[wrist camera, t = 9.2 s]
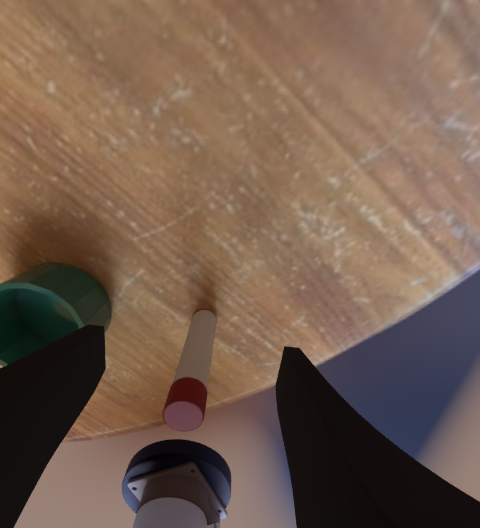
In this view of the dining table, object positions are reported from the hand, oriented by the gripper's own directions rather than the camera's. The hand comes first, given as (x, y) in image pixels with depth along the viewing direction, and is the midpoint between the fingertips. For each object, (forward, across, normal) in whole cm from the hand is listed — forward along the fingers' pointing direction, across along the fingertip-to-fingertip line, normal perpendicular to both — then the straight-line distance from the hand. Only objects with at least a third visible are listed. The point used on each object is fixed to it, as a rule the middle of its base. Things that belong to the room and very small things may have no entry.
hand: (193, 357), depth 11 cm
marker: (+9, 0, +4) cm, 10 cm away
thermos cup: (+9, +10, +4) cm, 14 cm away
